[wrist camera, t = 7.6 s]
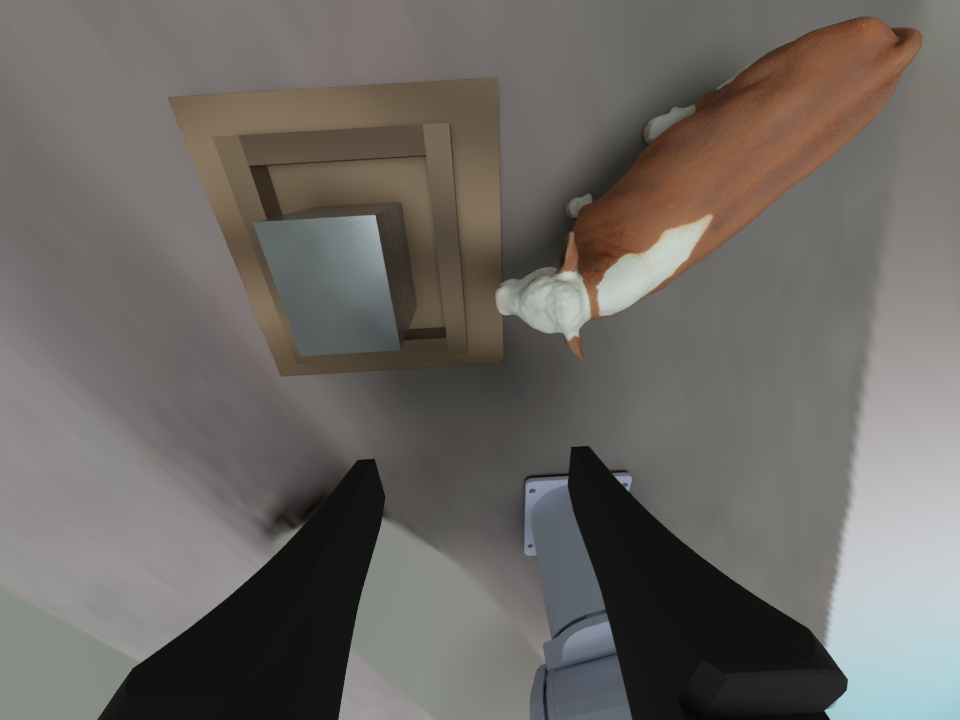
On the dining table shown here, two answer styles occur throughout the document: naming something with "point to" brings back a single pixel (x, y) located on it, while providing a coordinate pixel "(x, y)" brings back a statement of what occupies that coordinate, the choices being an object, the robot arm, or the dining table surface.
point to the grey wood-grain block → (342, 276)
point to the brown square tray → (366, 200)
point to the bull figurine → (713, 172)
